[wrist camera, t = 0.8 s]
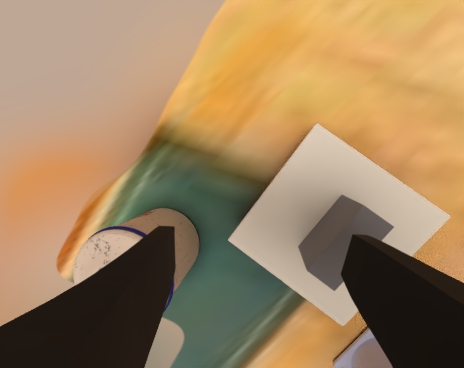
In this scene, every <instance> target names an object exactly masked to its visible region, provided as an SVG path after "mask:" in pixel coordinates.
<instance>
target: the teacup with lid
mask: <svg viewBox="0 0 464 368" xmlns="http://www.w3.org/2000/svg"><path fill="white" fill-rule="evenodd" d="M158 226H174V228H175V262H176V269H175V274H174V278H173V283H172V287H171V291H170V295H169V298H168V301H167V304H166V306H165V309H164V311H165V310H166V308H167V307H168V305H169V303H170V301H171V298H172V295H173V293H174V292H175V290H176V289H177V287H178V286H179V284H180V283H181V281H182V280H183V279H184V277H185V276H186V274H187V273H188V271H189V270H190V268H191V267H192V265H193V264H194V262H195V261H196V259H197V256H198V253H199V238H198V234H197V231H196V229H195V227H194V225H193V224H192V223H191V221H190V220H189V219H188V218H187V217H186V216H184V215H183V214H181V213H180V212H178V211H175V210H173V209H168V208H158V209H154V210H151V211H149V212H146V213H144V214H142V215H140V216H138V217H135V218H133V219H131V220H129V221H127V222H124V223H122V224H120V225H118V226H114V227H109V228H105V229H102V230H100V231H98V232H96V233H95V234H94V235H92V236H91V237H90V238H89V239H88V240H87V241H86V242H85V243H84V244H83V246H82V247H81V249H80V251H79V252H78V255H77V257H76V260H75V264H74V274H73V276H74V284H75V285H77V284H78V283H80V282H82V281H83V280H85V279H86V278H88V277H90V276H91V275H93V274H94V273H96V272H97V271H98V270H100V269H101V268H103V267H104V266H106V265H107V264H109V263H110V262H111V261H113V260H114V259H116V258H117V257H119V256H120V255H121V254H123V253H124V252H125V251H127V250H128V249H129V248H131V247H132V246H133V245H135V244H136V243H137V242H139V241H140V240H141V239H142V238H144V237H145V236H146V235H147V234H149V233H150V232H151V231H152V230H154V229H155V228H156V227H158Z"/></svg>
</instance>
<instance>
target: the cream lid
mask: <svg viewBox="0 0 464 368" xmlns="http://www.w3.org/2000/svg"><path fill="white" fill-rule="evenodd" d="M450 217H451V216H450V215H448V214H447V213H445V212H444V211H443V210H441V209H440V208H438V207H437V206H435V205H434V204H432V203H431V202H430V201H428V200H427V199H425V198H424V197H422V196H421V195H420V194H418V193H417V192H415V191H414V190H412V189H411V188H410V187H408V186H407V185H405V184H404V183H402V182H401V181H399V180H398V179H397V178H395V177H394V176H392V175H391V174H389V173H388V172H387V171H385V170H384V169H382V168H381V167H379V166H378V165H377V164H375V163H374V162H372V161H371V160H369V159H368V158H366V157H365V156H364V155H362V154H361V153H359V152H358V151H356V150H355V149H354V148H352V147H351V146H349V145H348V144H346V143H345V142H344V141H342V140H341V139H339V138H338V137H336V136H335V135H334V134H332V133H331V132H329V131H328V130H326V129H325V128H323V127H322V126H321V125H319V124H318V123H316V124H315V125H314V126H313V127H312V129H311V130H310V131H309V133H308V134H307V135H306V137H305V138H304V139H303V141H302V142H301V143H300V145H299V146H298V147H297V149H296V150H295V151H294V153H293V154H292V155H291V157H290V158H289V159H288V160H287V162H286V163H285V164H284V166H283V167H282V168H281V170H280V171H279V172H278V174H277V175H276V176H275V178H274V179H273V180H272V182H271V183H270V184H269V186H268V187H267V188H266V190H265V191H264V192H263V193H262V195H261V196H260V197H259V199H258V200H257V201H256V203H255V204H254V205H253V207H252V208H251V209H250V211H249V212H248V213H247V215H246V216H245V217H244V219H243V220H242V221H241V223H240V224H239V225H238V226H237V228H236V229H235V230H234V232H233V233H232V234H231V236H230V237H229V239H228V241H229V242H231V243H232V244H233V245H235V246H236V247H237V248H239V249H240V250H241V251H243V252H244V253H245V254H247V255H248V256H249V257H251V258H252V259H253V260H255V261H256V262H257V263H259V264H260V265H261V266H263V267H264V268H265V269H267V270H268V271H269V272H271V273H272V274H273V275H275V276H276V277H277V278H279V279H280V280H281V281H283V282H284V283H285V284H287V285H288V286H289V287H291V288H292V289H293V290H295V291H296V292H297V293H299V294H300V295H301V296H303V297H304V298H305V299H307V300H308V301H309V302H311V303H312V304H313V305H315V306H316V307H317V308H319V309H320V310H321V311H323V312H324V313H325V314H327V315H328V316H329V317H331V318H332V319H333V320H335V321H336V322H337V323H339V324H340V325H341V326H344V325H345V324H346V323H347V322H348V321H349V320H350V319H351V318H352V317H353V316H354V315H355V314H356V313H357V312H358V309H357V307H356V306H355V304H354V302H353V300H352V299H351V297H350V295H349V292H348V290H347V288H346V286H345V283H344V281H343V279H342V276H341V271H342V268H343V264H344V261H345V258H346V254H347V251H348V248H349V244H350V241H351V238H352V234H359V235H369V236H371V237H374V238H376V239H378V240H380V241H382V242H384V243H386V244H388V245H390V246H392V247H394V248H396V249H398V250H400V251H402V252H404V253H406V254H408V255H410V256H411V257H412V256H413V255H414V254H415V253H416V252H417V251H418V250H419V249H420V248H421V247H422V246H423V245H424V244H425V242H426V241H427V240H428V239H429V238H430V237H431V236H432V235H433V234H434V233H435V232H436V231H437V230H438V229H439V228H440V227H441V226H442V225H443V224H444V223H445V222H446V221H447V220H448V219H449V218H450Z"/></svg>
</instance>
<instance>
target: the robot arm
mask: <svg viewBox="0 0 464 368" xmlns="http://www.w3.org/2000/svg"><path fill="white" fill-rule="evenodd" d="M175 269H176V262H175V228H174V226H158V227H156V228H155V229H154V230H152V231H151V232H150V233H149V234H147V235H146V236H145V237H144V238H142V239H141V240H140V241H139V242H137V243H136V244H135V245H133V246H132V247H131V248H129V249H128V250H127V251H125V252H124V253H123V254H121V255H120V256H119V257H117V258H116V259H114V260H113V261H111V262H110V263H109V264H107V265H106V266H104V267H103V268H101V269H100V270H98V271H97V272H96V273H94V274H93V275H91V276H90V277H88V278H86V279H85V280H83V281H82V282H80V283H78V284H77V285H75V286H74V287H72V288H70V289H68V290H67V291H65V292H63V293H62V294H60V295H58V296H57V297H55V298H53V299H51V300H50V301H48V302H46V303H44V304H42V305H40V306H38V307H36V308H35V309H33V310H31V311H29V312H27V313H25V314H23V315H21V316H19V317H17V318H15V319H14V320H12V321H10V322H8V323H6V324H4V325H2V326H1V327H0V368H144V367H145V364H146V361H147V358H148V355H149V352H150V349H151V346H152V343H153V340H154V338H155V335H156V332H157V329H158V326H159V323H160V321H161V318H162V315H163V312H164V309H165V306H166V304H167V301H168V298H169V295H170V291H171V287H172V283H173V278H174V274H175ZM341 276H342V279H343V281H344V283H345V286H346V288H347V290H348V292H349V295H350V297H351V299H352V300H353V302H354V304H355V306H356V307H357V309H358V311H359V312H360V314H361V316H362V317H363V319H364V321H365V322H366V324H367V326H368V328H367V329H366V330H365V331H364V332H363V333H362V334H361V335H360V336H359V337H358V338H357V339H356V340H355V341H354V342H353V343H352V344H351V345H350V346H349V347H348V348H347V349H346V350H345V351H344V352H343V353H342V354H341V355H340V356H339V357H338V358H337V359H336V360H335V361H334V363H333V364H334V367H335V368H341V367H343V368H464V283H462V282H460V281H458V280H456V279H454V278H452V277H450V276H448V275H446V274H444V273H442V272H440V271H438V270H436V269H434V268H433V267H431V266H429V265H427V264H425V263H423V262H421V261H419V260H417V259H415V258H413V257H411V256H410V255H408V254H406V253H404V252H402V251H400V250H398V249H396V248H394V247H392V246H390V245H388V244H386V243H384V242H382V241H380V240H378V239H376V238H374V237H371V236H369V235H359V234H352V238H351V241H350V244H349V248H348V251H347V254H346V258H345V261H344V264H343V268H342V271H341Z"/></svg>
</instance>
